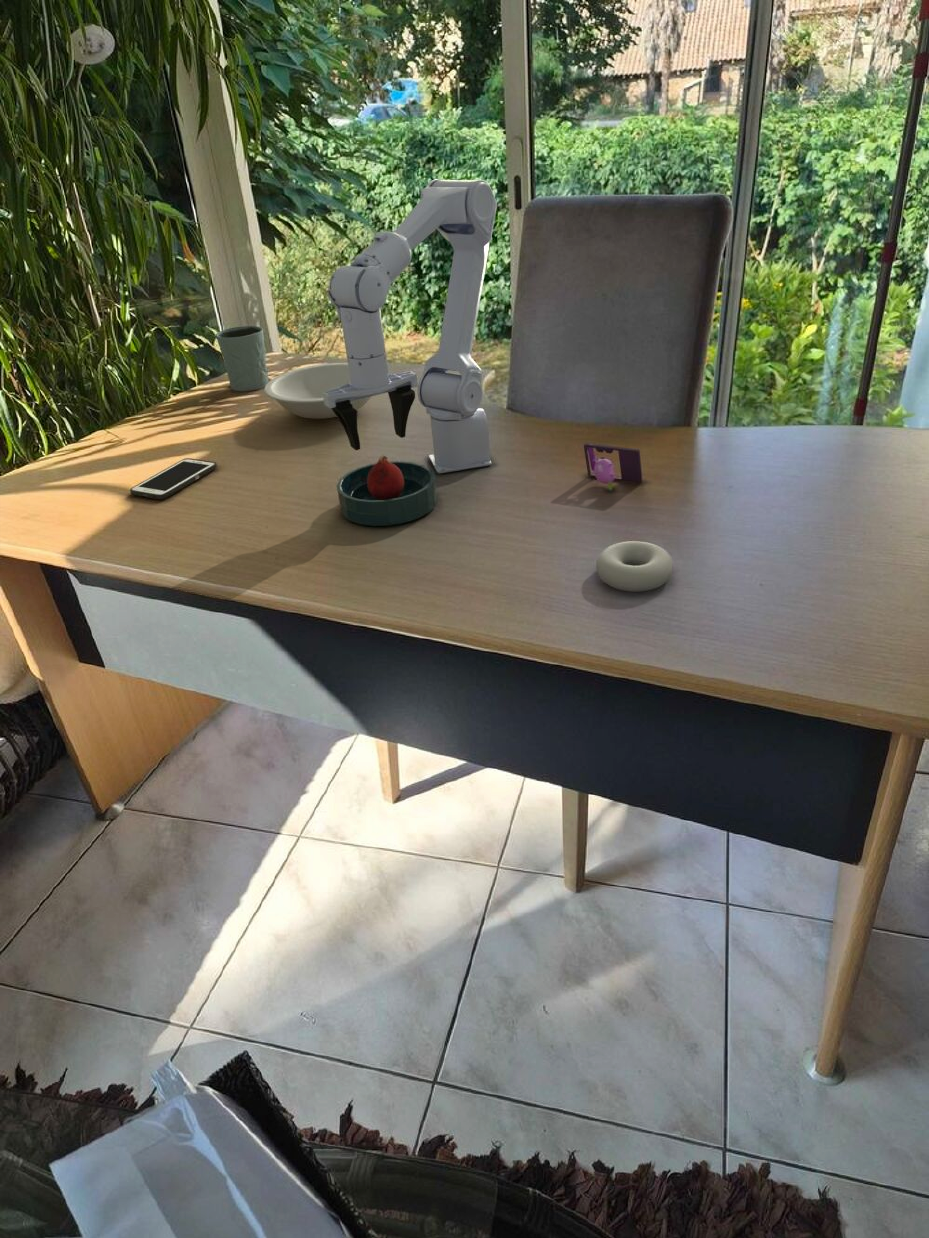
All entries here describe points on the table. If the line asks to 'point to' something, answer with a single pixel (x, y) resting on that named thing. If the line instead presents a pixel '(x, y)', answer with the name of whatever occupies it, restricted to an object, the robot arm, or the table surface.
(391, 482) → the onion
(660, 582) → the donut
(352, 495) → the teal bowl
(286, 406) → the soup bowl
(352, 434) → the robot arm
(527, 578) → the table surface
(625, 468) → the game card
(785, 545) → the table surface
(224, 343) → the textured green cup
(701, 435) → the table surface
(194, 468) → the cell phone
